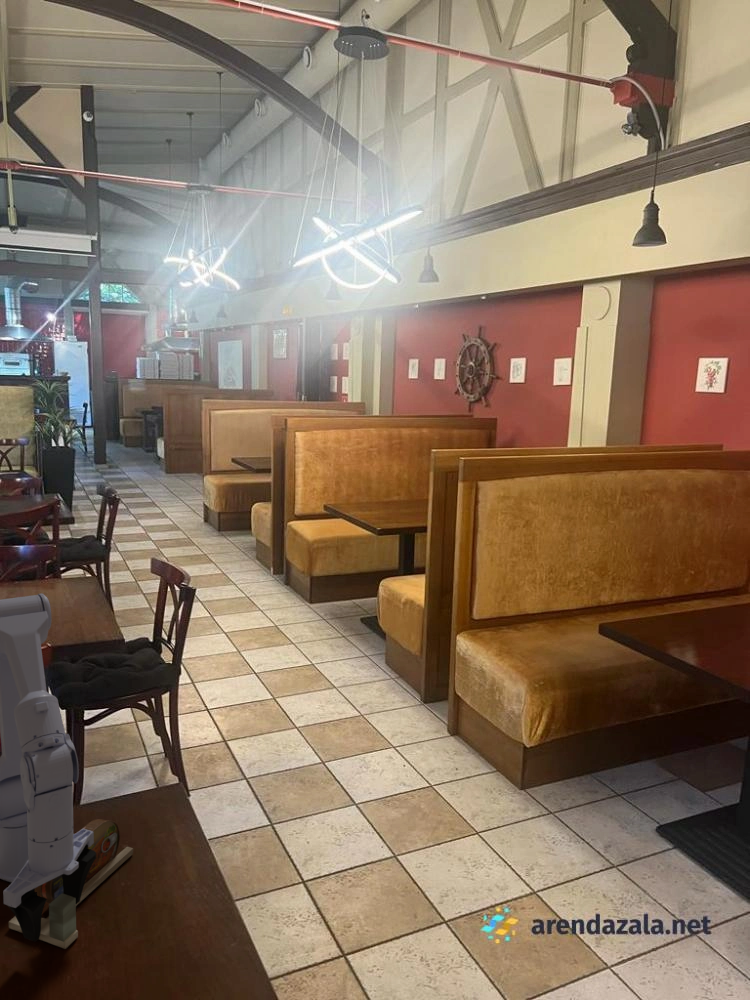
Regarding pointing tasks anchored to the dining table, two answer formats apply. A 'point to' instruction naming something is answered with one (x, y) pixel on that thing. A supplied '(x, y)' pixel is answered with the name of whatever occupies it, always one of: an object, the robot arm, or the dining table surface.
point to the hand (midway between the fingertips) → (52, 918)
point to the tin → (103, 846)
